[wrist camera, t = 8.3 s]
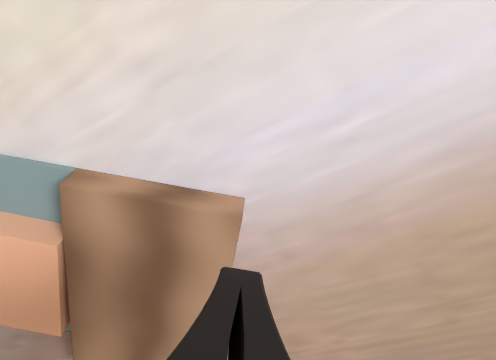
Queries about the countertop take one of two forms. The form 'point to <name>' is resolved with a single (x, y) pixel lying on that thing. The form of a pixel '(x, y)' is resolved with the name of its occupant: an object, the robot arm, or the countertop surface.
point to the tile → (33, 275)
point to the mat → (32, 189)
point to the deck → (140, 261)
